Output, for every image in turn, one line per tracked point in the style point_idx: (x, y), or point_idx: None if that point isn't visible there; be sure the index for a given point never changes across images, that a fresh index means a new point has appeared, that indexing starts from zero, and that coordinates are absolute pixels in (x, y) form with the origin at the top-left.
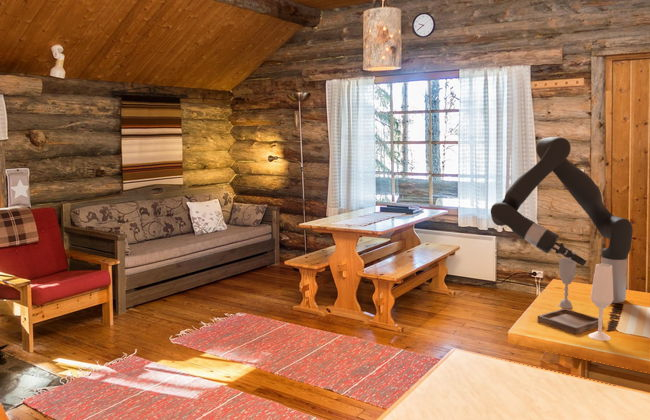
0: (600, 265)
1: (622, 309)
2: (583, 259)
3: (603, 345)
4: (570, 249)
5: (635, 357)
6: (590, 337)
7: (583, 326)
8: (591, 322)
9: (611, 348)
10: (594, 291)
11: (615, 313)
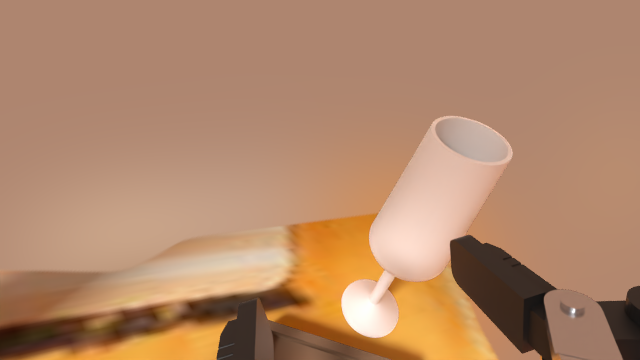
0: (450, 160)
1: (16, 322)
2: (471, 238)
3: None
4: (566, 354)
5: None
6: (395, 325)
7: (372, 354)
8: (321, 342)
9: None
10: None
11: (87, 330)
